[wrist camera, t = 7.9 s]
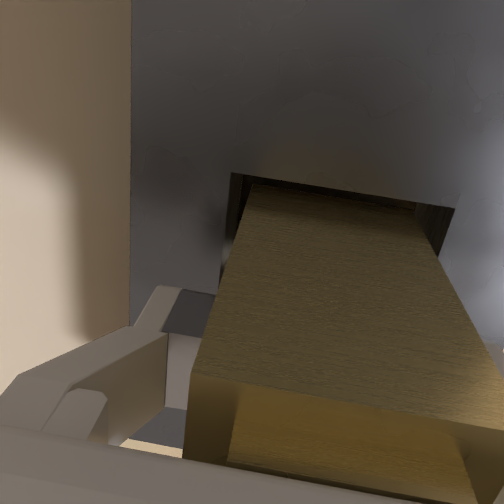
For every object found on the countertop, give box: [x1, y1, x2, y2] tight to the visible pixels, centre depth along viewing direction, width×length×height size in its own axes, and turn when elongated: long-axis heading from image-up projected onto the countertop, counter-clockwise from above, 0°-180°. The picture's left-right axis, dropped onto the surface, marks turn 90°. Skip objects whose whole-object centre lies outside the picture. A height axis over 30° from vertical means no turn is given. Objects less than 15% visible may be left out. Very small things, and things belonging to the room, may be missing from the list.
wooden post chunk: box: [182, 183, 504, 504], centre depth 9 cm, size 4×4×8 cm
